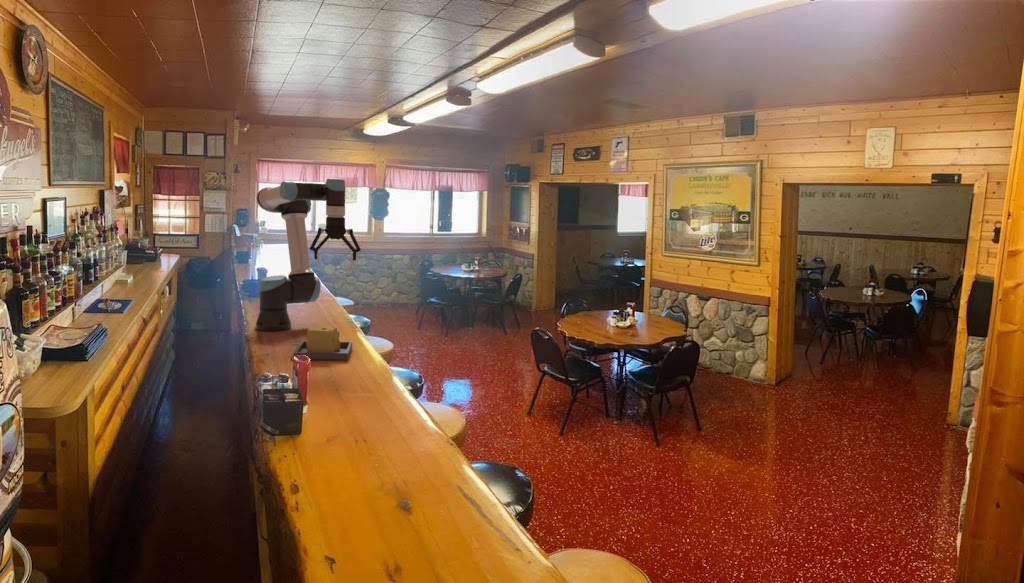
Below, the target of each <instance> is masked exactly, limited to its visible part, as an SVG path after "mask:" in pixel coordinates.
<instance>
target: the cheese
mask: <svg viewBox="0 0 1024 583" xmlns="http://www.w3.org/2000/svg"><path fill="white" fill-rule="evenodd" d="M306 341H307V352H337V351H338V350H340V342H341V340H340V331H339V330H338V328H337V327H334V326H332V325H328V324H320V323H318V324H316V323H315V324H314V325H313V326H311V327H310V328H309V329H307V330H306Z"/></svg>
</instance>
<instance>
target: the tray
mask: <svg viewBox="0 0 1024 583" xmlns="http://www.w3.org/2000/svg"><path fill="white" fill-rule="evenodd" d="M352 350H353V341H340V350H338V351H337V352H307V340H302V341H300V343H299V344H298V345H297V347H296V348H295V350H294V352H293V353H292V354H293V356H296V355H306V356H308V357H309V358H310V359H311V360H313V361H319V362H321V361H323V362H324V361H325V362H327V361H330V362H333V361H334V362H339V361H340V362H341V361H342V362H344V361H346V362H348V361H349V359H350V356H351V353H352Z"/></svg>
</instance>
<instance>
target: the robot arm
mask: <svg viewBox="0 0 1024 583" xmlns="http://www.w3.org/2000/svg"><path fill="white" fill-rule="evenodd" d="M346 190H347V189H346V181H345V180H344V179H343V178H331V177H330V178H327V179H326V180H325V182H323V181H322V182H318V181H317V182H315V181H312V182H311V181H295V180H293V181H292V180H287V181H285V180H283V181H281V183H280V185H278V186H272V187H271V186H268V187H264V188H261V189H260V190H259V191H258V192H257V194H256V203H257V205H258V206H259V207H260V208H261V209H262V210H264V211H266V212H269V213H277V214H279V213H280V214H281V218H282V219H283V220H284V221H285V229H286V237H287V246H288V247H287V248H288V253H289V254H288V256H289V264H290V273H288V275H287V276H286V275H284V274H283V275H282V274H281V275H271V276H266V277H263V278H262V279H260V280H259V286H258V294H259V295H258V296H259V297H258V298H259V299H258V300H259V301H258V302H259V303H258V304H259V313H258V316H257V318H256V321H255V329H256V330H259V331H261V332H263V331H264V332H280V331H286V330H290V329H291V328H292V322H291V319H290V315H289V313H288V305H292V304H308V303H312V302H313V303H314V302H317V300H318V298H319V296H320V293H321V287H322V286H321V280H320V278H319V277H318V276H316V275H315V272H314V271H313V270H311V264H310V256H309V254H310V253H309V250H310V251H313V253H314V254H313V256H314V260H316V267H317V268H320V267H321V258H320V257H321V251H320V248H322V247H323V245H325V243H326V242H327V241H328V240H329V239H331V240H340V239H341V240H342V241H343V243H344V244H346V246H347V247H348V248H349V250H351V252H350V269H354V261H356V260H357V253H358V252H361V250H362V249H361V246H360V245H359V243H358V241H357V239H356V237H355V235H354V229H353V228H349V229H348V228H347V229H346V217H345V216H346ZM312 201H315V202H316V201H318V202H319V201H322V202H325V215H326V217H325V228H323V227H318V228H317V234H316V235H315V237H314V239H313V241H312V243H311V245H310V247H309V245H308V237H307V229H306V218H307V217H308V214H309V213H310V212H311V209H312ZM324 232H325V234H326V236H325V237H324V238H323V239H322V241H321V242H320V243H319V244H318V245H317V246H316V244H317V242H318V241H319V239H320V238H321V235H322V234H323V233H324ZM346 233H347V235H350V236H349V237H350V238H351V240H352V242H353V244H354V246H353V244H352V243H351V242H350V240H348V239H347V236H345V235H346ZM315 246H316V247H315Z"/></svg>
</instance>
